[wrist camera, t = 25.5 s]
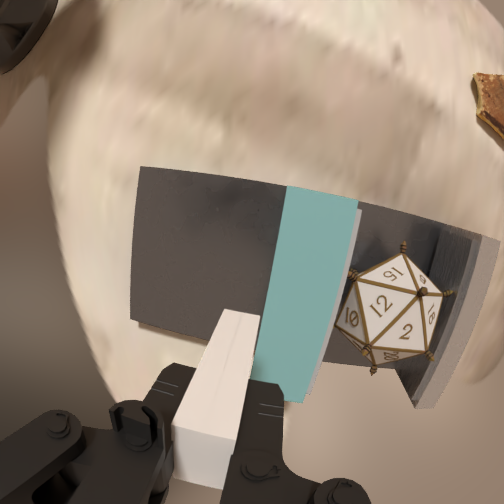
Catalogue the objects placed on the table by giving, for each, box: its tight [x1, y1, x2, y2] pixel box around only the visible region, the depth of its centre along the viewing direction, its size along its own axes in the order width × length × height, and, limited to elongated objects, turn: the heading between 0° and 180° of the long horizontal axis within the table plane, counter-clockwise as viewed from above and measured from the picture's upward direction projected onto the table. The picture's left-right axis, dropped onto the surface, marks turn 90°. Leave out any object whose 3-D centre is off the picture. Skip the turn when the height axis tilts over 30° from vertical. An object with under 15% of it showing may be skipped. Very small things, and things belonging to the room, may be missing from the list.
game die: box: [332, 240, 454, 376], centre depth 18 cm, size 9×8×10 cm
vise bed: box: [130, 166, 501, 409], centre depth 21 cm, size 14×28×8 cm, turn 81°
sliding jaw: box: [250, 186, 362, 403], centre depth 20 cm, size 14×4×6 cm, turn 171°
